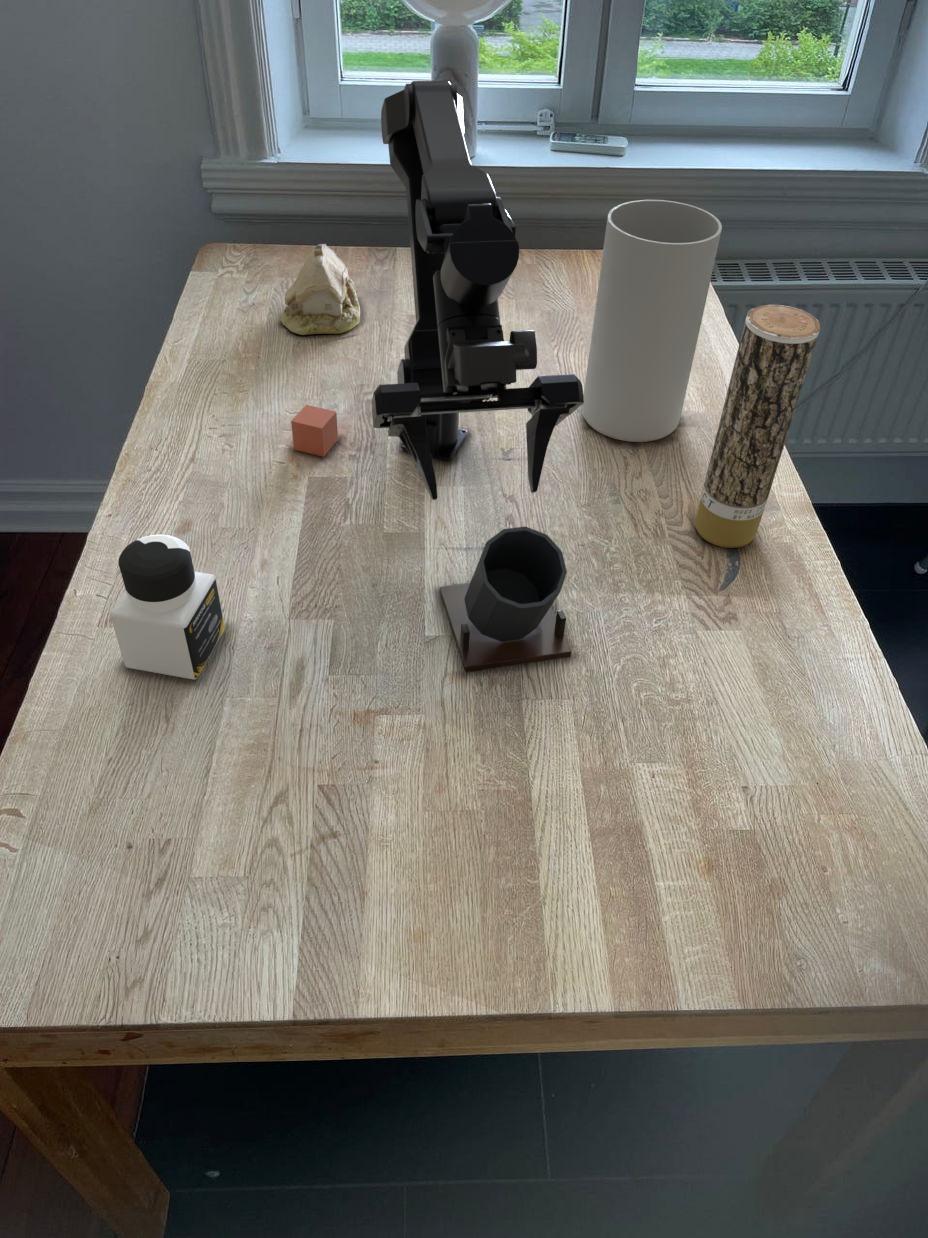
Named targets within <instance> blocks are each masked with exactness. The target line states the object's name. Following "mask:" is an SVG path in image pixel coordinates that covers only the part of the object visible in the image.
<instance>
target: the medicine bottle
mask: <svg viewBox="0 0 928 1238" xmlns="http://www.w3.org/2000/svg"><path fill="white" fill-rule="evenodd" d="M118 567H119V571H120V575H121V578H122V582H123V585H124V589H125V590H124V591H122V594H121V595H120V597H119V598H118V600H117V601H116V602H115V604H114V605H113V606H112V608H111V610H110V611H109V616H110V620H111V623H112V626H113V630H114V634H115V637H116V640H117V643H118V647H119V650H120V653H121V656H122V661H123V663H124V666H125V667H126V668H127V669H131V670H139V671H142V672H148V673H155V674H161V675H165V676H171V677H176V678H181V679H187V680H197V679H198V678H200V675H201V673H202V672H203V670H204V668H205V666H206V664H207V663H208V661H209V659H210V657H211V655H212V654H213V651H214V650H215V648H216V646H217V645H218V643H219V641H220V640H221V637H222V635H223V633H224V632H225V628H226V626H225V621H224V617H223V611H222V605H221V600H220V595H219V590H218V589H219V588H218V584H217V578H216V575H214V574H211V573H205V572H201V571H200V572H199V571H195V567H194V564H193V558H192V553H191V549H190V547H189V545H188V544H187V543H186V542H185V541H183V540H182V539H180V538H178V537H176V536H173V535H169V534H151V535H146V536H142V537H139V538H137V539H135V540H133V541H132V542H130V543H128V545H126V546H125V548H124V549H123V550H122V551H121V552H120V555H119V557H118Z"/></svg>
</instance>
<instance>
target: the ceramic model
mask: <svg viewBox="0 0 928 1238" xmlns="http://www.w3.org/2000/svg"><path fill="white" fill-rule="evenodd" d="M349 276H350V275H349V271H348V268H347V267H346V265H345V263H344V262H343V261H342V259H341V258H340V256H338V254H337V253H336V252H335V251H334V250H333V249H331V248H330V247H328V246H327V244H326V243H319V244H317V245H315V246H314V250H313V251H312V253H311V254H310V255H309V256H308V258H307V259H306V260H305V262H304V263H303V265H302V267H301V268H300V270H299V272H298V273H297V277H296V279H295V281H294V282H293V284H292V285H291V286H290V288H288V290H286V292H285V294H284V303H285V305H286V306H285V307H284V309H283V314H282V317H281V320H280V321H281V323H282V325H283V326H285V328H287V329H288V331H290V332H292V333H294V334H297V335H301V336H306V335H315V334H316V335H318V334H319V335H320V334H331V335H333V334H343V333H346V332H349V331H351V330H352V329H354V328H356V326H358V325H359V324H360V321H361V320H360V319H361V307H360V302H359V298H358V295H357V292H356V286H355V284H354V281H353V280H352V278H350V277H349Z"/></svg>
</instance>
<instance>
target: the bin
mask: <svg viewBox="0 0 928 1238" xmlns="http://www.w3.org/2000/svg"><path fill="white" fill-rule="evenodd" d="M567 574H568V571H567V566H566V563H565V559H564V554H563V551H562V550H561V548H560V547H559V546H558V545H557V543H555V542H554V541H553V539H552V538H550V536H549V535H548V534H546V533H545V532H542V531H539V530H536V529H533V528H531V527H528V526H518V527H517V526H516V527H509V528H503V529H501V530H500V531H499V532H497V533H496V534H495V535H494V536H492V537H490V538H489V539H488V540H487V541H486V542H485V545H484V547H483V549H482V552H481V555H480V557H479V560H478V561H477V565H476V567H475V569H474V572H473V575H472V577H471V579H470V582H469V583H470V585H469V587H468V590H467V593H466V595H465V598H464V600H465V605H466V610H467V615H468V618H469V620H470V621H471V622H472V623H473V625H474V626H475V627H476V628H477V629H478V630H479V632H480V633H481V634H482V635H485V636H488V637H490V638H493V639H496V640H498V641H501V642H505V641H512V640H519V639H523V638H524V637H526V636H527V635H528V634H529V633H530V632H532V631H533V630H534V629H535V628H537V627H538V625H539V624H540V622H541V621H542V619H543V618H544V616H545V614H546V613H547V611H548V610H549V608H550V607H551V606H553V604H554V603H555V601H556V599H557V598H558V597H559V595H560V593H561V591H562V588H563V585H564V582H565V580H566V576H567Z"/></svg>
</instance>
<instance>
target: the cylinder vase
mask: <svg viewBox="0 0 928 1238" xmlns="http://www.w3.org/2000/svg"><path fill="white" fill-rule="evenodd" d="M722 230H723V225H722V222H721V221H720V219H718V218H717V217H716V216H715V215H714V214H712V213H711V212H709V211H707V210H705V209H703V208H700V207H697V206H695V205H691V204H689V203H684V202H680V201H674V200H673V201H672V200H664V199H639V200H632V201H627V202H623V203H620V204H618V205H616V206H614V207H613V208H610V210H609V212H608V213H607V218H606V226H605V232H604V233H605V234H604V239H603V240H604V241H603V248H602V256H601V262H600V271H599V278H598V283H597V284H598V286H597V293H596V300H595V307H594V314H593V316H594V317H593V320H592V321H593V322H592V330H591V336H590V344H589V352H588V358H587V366H586V373H585V380H584V388H583V398H584V403H583V404H582V405H581V414H582V416H583V418H584V420H585V422H586V423H587V424H588V425H589V427H591V428H593V430H595V431H596V432H598V433H599V434H601V435H603V436H605V437H608V438H611V439H614V440H618V441H624V442H631V443H645V442H646V443H647V442H653V441H658V440H661V439H663V438H665V437H668V436H669V435H670V434H672V433H673V432H674V431H675V430H676V429H677V428H678V426H679V425H680V421H681V417H682V413H683V408H684V404H685V399H686V395H687V390H688V385H689V381H690V376H691V372H692V367H693V363H694V357H695V353H696V348H697V344H698V339H699V335H700V332H701V331H700V330H701V325H702V321H703V316H704V313H705V307H706V304H707V298H708V294H709V289H710V284H711V280H712V276H713V271H714V266H715V261H716V258H717V257H716V256H717V253H718V248H719V247H718V246H719V243H720V239H721V235H722Z"/></svg>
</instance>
